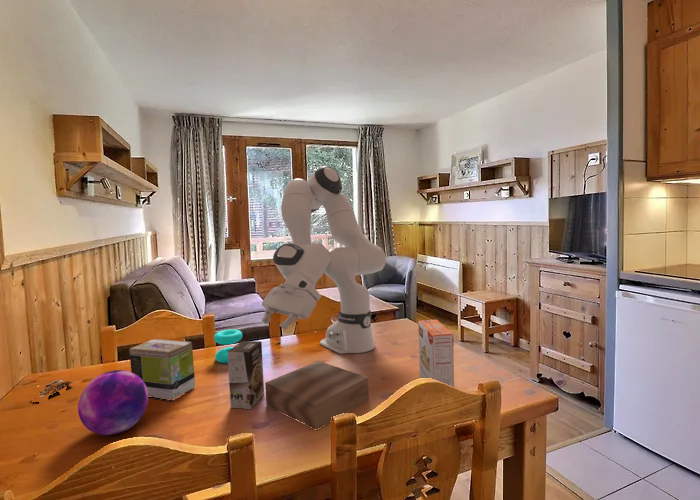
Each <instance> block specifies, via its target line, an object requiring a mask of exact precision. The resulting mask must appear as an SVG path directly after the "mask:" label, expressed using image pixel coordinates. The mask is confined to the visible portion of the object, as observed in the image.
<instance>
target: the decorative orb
mask: <svg viewBox="0 0 700 500" xmlns="http://www.w3.org/2000/svg"><path fill="white" fill-rule="evenodd" d="M148 403H149V398H148V390H147V387H146V385H145V383H144V381H143V380H142V379H141V378H140V377H139V376H137V375H136V374H134V373H132V372H131V371H129V370H122V369H117V370H116V369H115V370H111V371H107V372H104V373H101V374H100V375H98V376H96V377H95V378H94V379H92V380H91V381H89V382H88V384H87V385H86V386H85V388H84V389H83V391H82V392H81V394H80V396H79V400H78V404H77V413H78V417H79V420H80V422H81V423H82V425H83V426H84V427H85V428H86V429H87V430H89V431H90V432H91V433H94V434H96V435H100V436H113V434H114V435H117V433H118V434H121V433H123V431H124V432H126V431H127V430H129V429H131V428H132V427H133V426H134V425H136V424H137V423H138V422H139V421H140V419H142V417H143V415H144V413H145V412H146V411H147V407H148ZM120 432H121V433H120Z"/></svg>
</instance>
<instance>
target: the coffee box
mask: <svg viewBox="0 0 700 500" xmlns="http://www.w3.org/2000/svg"><path fill="white" fill-rule="evenodd" d="M262 343H263V342H262V341H255V340H254V341H253V340H252V341H251V340H250V341H244V340H242V341H239V342H238V344H236V345H235V346H232V347H233V348H232V349H230V350H229V351H228V363H227V367H228V383H229V384H228V385H229V387H228V388H229V400H230V401H229V402H230V408H231V407H232V409H241V408H243V409H244V410H252V409H253V408H254V407H255V405H257V403H259V401H260V400H261V399H262V398H263V397H264V396H265V381H264V366H263V365H264V364H263V347H262ZM262 396H263V397H262ZM261 397H262V398H261ZM252 407H253V408H252Z"/></svg>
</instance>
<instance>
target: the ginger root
mask: <svg viewBox="0 0 700 500" xmlns="http://www.w3.org/2000/svg"><path fill="white" fill-rule="evenodd" d="M71 383H72V384H73V382H72V381H69V380H66V381H63V380H62V379H59V378H58V379H56V380H54V381H52V382H51V383H47V384H46V385H45V386H44V388H43V389H41V390H39V392H40V393H41V394H40V397H43V396H45V395H47V394H49V392H50V391H52V390H53V391H52V392H51V393H50V394H53V393H54V392H57V391H59V390H61V389H63V388H64V387H67V386H68V387H69V385H70V384H71ZM55 388H56V389H55ZM41 395H42V396H41Z"/></svg>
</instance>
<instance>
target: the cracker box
mask: <svg viewBox="0 0 700 500" xmlns="http://www.w3.org/2000/svg"><path fill="white" fill-rule="evenodd" d="M417 323H418V354H419V355H418V356H419V357H418V358H419V363H418V364H419V365H418V366H419V379H420V378H432V379H435V380H438V381H440V382H443V383H446V384H448V385H451V386H453V387H454V388H455V376H454V375H455V371H454V370H455V368H454V367H455V366H454V365H455V364H454V362H455V360H454V359H455V358H454V356H455V355H454V352H455V350H454V349H455V348H454V347H455V346H454V334H453V333H452V332H451V331H450V330H449V329H447V328H446V326H445V325H444V324H442V323H441V322H440V321H439V320H438V319H423V320H418V322H417Z"/></svg>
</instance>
